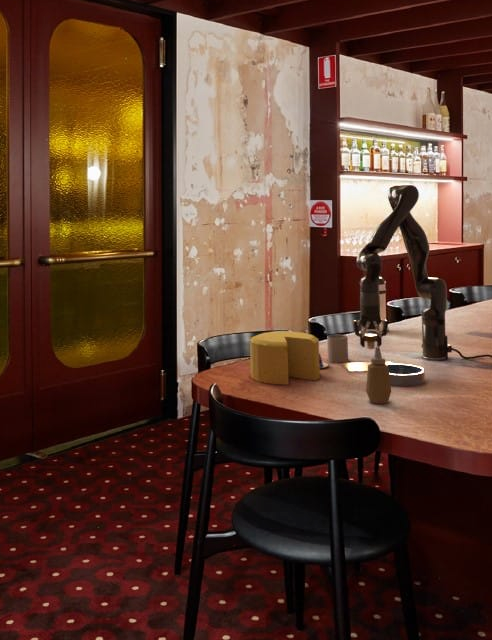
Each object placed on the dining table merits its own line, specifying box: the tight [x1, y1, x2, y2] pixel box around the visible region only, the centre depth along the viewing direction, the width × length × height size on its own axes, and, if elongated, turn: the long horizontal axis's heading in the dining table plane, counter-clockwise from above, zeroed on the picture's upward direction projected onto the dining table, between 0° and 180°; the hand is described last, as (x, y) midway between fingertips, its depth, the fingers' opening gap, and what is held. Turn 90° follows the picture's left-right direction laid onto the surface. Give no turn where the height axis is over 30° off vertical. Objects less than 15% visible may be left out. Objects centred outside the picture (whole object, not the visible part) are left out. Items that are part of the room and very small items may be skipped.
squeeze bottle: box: [365, 346, 392, 405], centre depth 237 cm, size 8×8×18 cm
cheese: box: [249, 331, 320, 385], centre depth 275 cm, size 26×26×15 cm
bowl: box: [386, 363, 426, 387], centre depth 262 cm, size 17×17×5 cm
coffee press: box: [358, 276, 390, 333], centre depth 364 cm, size 17×16×30 cm
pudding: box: [319, 353, 329, 370], centre depth 289 cm, size 12×12×5 cm
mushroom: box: [364, 333, 378, 350], centre depth 283 cm, size 5×5×5 cm
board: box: [342, 361, 395, 373], centre depth 283 cm, size 20×14×1 cm
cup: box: [326, 334, 349, 364], centre depth 299 cm, size 8×8×10 cm
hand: (371, 346), depth 283 cm, fingers closed on mushroom, 5 cm apart
